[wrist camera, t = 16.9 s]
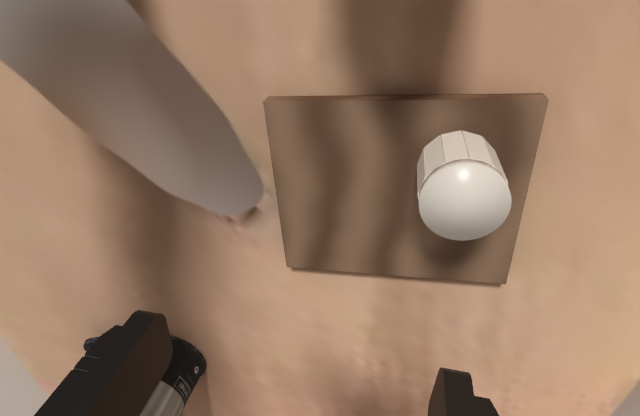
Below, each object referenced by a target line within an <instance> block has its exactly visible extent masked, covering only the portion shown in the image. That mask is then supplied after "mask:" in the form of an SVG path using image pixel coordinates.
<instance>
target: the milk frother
mask: <svg viewBox="0 0 640 416" xmlns="http://www.w3.org/2000/svg"><path fill="white" fill-rule="evenodd" d="M98 338H99V337H95V338H89V339H87V340H86V341H85V343H84V345H83V348H84V350H85V351H88V350H89V348H90V347H91V346H92V345H93V344H94V342H95V341H96V340H97V339H98ZM170 338H171V342H172V346H173V354H172V359H171V362H170V364H169V367H168V369H167V370H166V372H165V374H164V375H163V377H162V379H161V380H160V382H159V384H158V385H157V387H156V389H155V390H154V392H153V394H152V396H151V397H150V399H149V401H148V402H147V404H146V406H145V407H144V409H143V411H142V412H141V414H140V416H180V415H181V413H182V410H183V408H184V406H185V404H186V402H187V400H188V398H189V396H190V394H191V393H192V391H193V389H194V387H195V385H196V383H197V381H198V380H199V378H200V376H201V375H202V374H203V373H204V372H205V369H206V363H205V360H204V358H203V356H202V355H201V354H200V353H199V352H198V351H197V350H196V349H195V348H194V347H193V346H191V345H190V344H188V343H186V342H184V341H182V340H179V339H176V338H172V337H170Z"/></svg>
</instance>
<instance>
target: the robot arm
mask: <svg viewBox="0 0 640 416" xmlns="http://www.w3.org/2000/svg"><path fill="white" fill-rule="evenodd" d="M172 354H173V346H172V342H171V338H170V334H169V330H168V326H167V322H166V318H165V316H164V315H162V314H158V313H152V312H147V311H142V310H138V311H136V312H134V313H133V314H132V315H131V317H130V318H129V319H128V320H127V322H126V323H125V324H124V325H123V326H118V325H116V326H114V327H113V328H111V329H110V330H109V331H107V332H106V333H104V334H103V335H102V336H100V337H99V338H98V339H97V340H96V341H95V342H94V344H93V345H92V346H91V347H90V348H89V350H88V351H87V352H86V353H85V356H84V357H82V358H81V359H80V361H79V362H78V363H77V364H76V365H75V367H74V370H71V371H70V373H69V374H68V375H67V376H66V378H65V379H64V380H63V381H62V382H61V384H60V385H59V386H58V387H57V388H56V390H55V391H54V392H53V393H52V394H51V396H50V397H49V398H48V400H47V401H46V402H45V403H44V404H43V406H42V407H41V408H40V409H39V410H38V412H37V413H36V414H35V415H34V416H140V414H141V412H142V411H143V409H144V407H145V406H146V404H147V402H148V401H149V399H150V397H151V396H152V394H153V392H154V390H155V389H156V387H157V385H158V384H159V382H160V380H161V379H162V377H163V375H164V374H165V372H166V370H167V369H168V367H169V364H170V362H171V359H172ZM428 416H499V415H498V413H497V411H496V409H495V408H494V406H493V404H492V402H491V401H490V399H487V398H482V397H477V396H474V393H473V385H472V379H471V375H470V373H468V372H462V371H457V370H452V369H446V368H440V369H439V372H438V375H437V378H436V381H435V385H434V388H433V391H432V394H431V397H430V401H429V408H428Z"/></svg>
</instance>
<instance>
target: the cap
mask: <svg viewBox="0 0 640 416" xmlns="http://www.w3.org/2000/svg"><path fill="white" fill-rule="evenodd" d="M417 196H418V201H419V212H420V215H421V218H422V220H423V222H424V223H425V225H426V226H427V227H428V228H429V229H430V230H431V231H433V232H434V233H436V234H437V235H439V236H441V237H444V238H447V239H451V240H459V241H465V240H473V239H478V238H481V237H483V236H486V235H488V234H490V233H492V232H493V231H495V230H496V229H497V228H498V227H500V226H501V224H502V223H503V222H504V221H505V219H506V218H507V216H508V214H509V212H510V209H511V203H512V198H511V193H510V190H509V187H508V181H507V178H506V176H505V173H504V171H503V169H502V166H501V164H500V161H499V159H498V157H497V154H496V152H495V150H494V149H493V147H492V146H491V145H490V144H489V143H488V142H487V141H486V140H485V139H484V137H482V136H480V135H477V134H473V133H470V132H466V131H463V130H462V132H461V130H460V131H455V132H450V133H446V134H441V136H440V135H439V136H438V137H437V138H435V139H434V140H433V141H431V142H430V143H429V144H428V145H426V146H425V147H424V148H423V151H422V153H421V156H420V158H419V161H418V163H417Z"/></svg>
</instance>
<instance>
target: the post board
mask: <svg viewBox="0 0 640 416" xmlns="http://www.w3.org/2000/svg"><path fill="white" fill-rule="evenodd" d="M263 103H264V110H265V118H266V125H267V132H268V139H269V146H270V153H271V160H272V167H273V174H274V181H275V188H276V195H277V202H278V209H279V216H280V223H281V230H282V237H283V244H284V251H285V258H286V265H287V267H291V268H304V269H317V270H330V271H343V272H356V273H369V274H382V275H395V276H407V277H420V278H433V279H446V280H459V281H472V282H485V283H498V284H506V281H507V277H508V272H509V268H510V264H511V260H512V255H513V251H514V247H515V242H516V238H517V234H518V229H519V225H520V221H521V216H522V212H523V208H524V203H525V199H526V195H527V190H528V186H529V182H530V177H531V173H532V169H533V164H534V160H535V156H536V151H537V147H538V143H539V138H540V134H541V130H542V125H543V121H544V117H545V112H546V108H547V104H548V98H547V97H546V96H545V95H544V94H543V93H537V94H448V95H359V96H270V97H268V98H267V99H266V100H264V101H263ZM460 130H461V132H462V130H463V131H466V132H470V133H473V134H477V135H480V136H482V137H484V139H485V140H486V141H487V142H488V143H489V144H490V145H491V146H492V147H493V149H494V150H495V152H496V154H497V157H498V159H499V161H500V164H501V166H502V169H503V171H504V173H505V176H506V178H507V181H508V187H509V190H510V193H511V198H512V203H511V209H510V212H509V214H508V216H507V218H506V219H505V221H504V222H503V223H502V224H501V226H500V227H498V228H497V229H496V230H495V231H493V232H492V233H490V234H488V235H486V236H483V237H481V238H478V239H473V240H465V241H459V240H451V239H447V238H444V237H441V236H439V235H437V234H436V233H434V232H433V231H431V230H430V229H429V228H428V227H427V226H426V225H425V223H424V222H423V220H422V218H421V215H420V212H419V201H418V196H417V163H418V161H419V158H420V156H421V153H422V151H423V148H424V147H425V146H426V145H428V144H429V143H430V142H431V141H433V140H434V139H435V138H437V137H438V136H439V135H440V136H441V134H446V133H450V132H455V131H460Z"/></svg>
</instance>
